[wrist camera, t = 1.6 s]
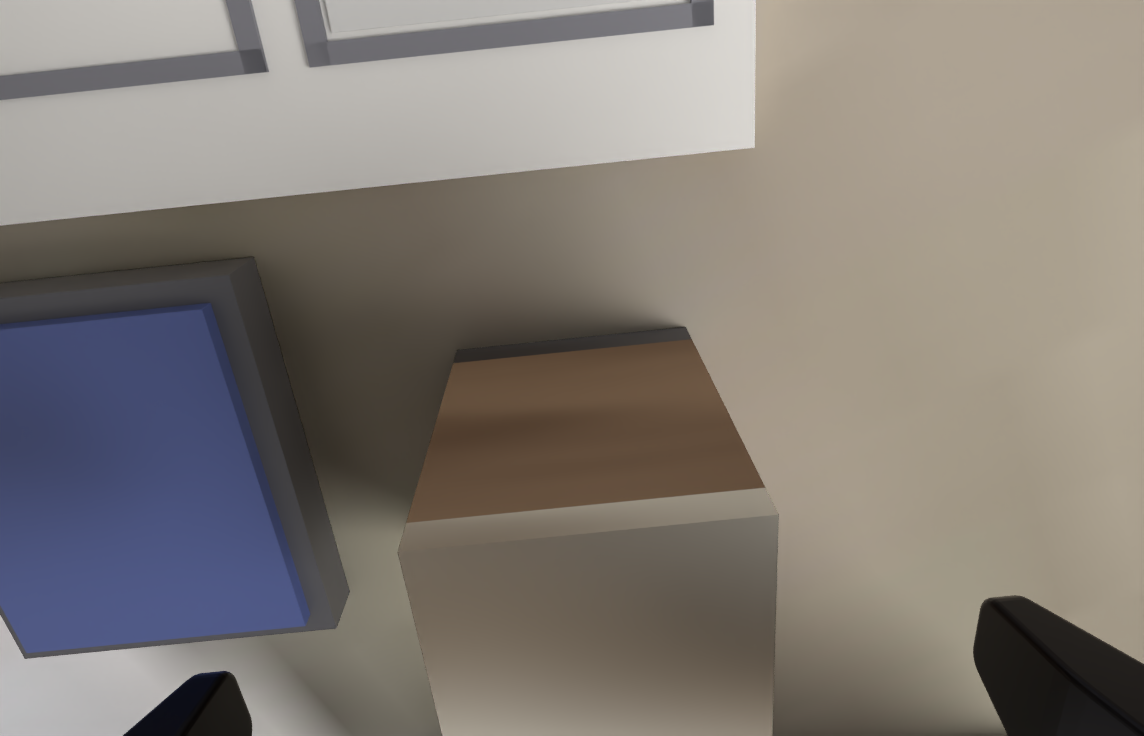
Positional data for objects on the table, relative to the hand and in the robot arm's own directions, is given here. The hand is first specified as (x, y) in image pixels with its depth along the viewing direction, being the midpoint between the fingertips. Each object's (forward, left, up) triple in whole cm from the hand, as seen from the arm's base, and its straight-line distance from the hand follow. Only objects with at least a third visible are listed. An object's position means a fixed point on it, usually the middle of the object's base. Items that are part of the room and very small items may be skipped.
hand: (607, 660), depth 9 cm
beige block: (0, 0, -5) cm, 5 cm away
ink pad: (+1, +8, -5) cm, 10 cm away
